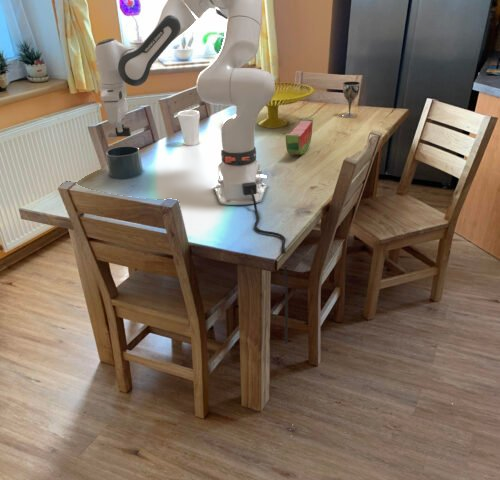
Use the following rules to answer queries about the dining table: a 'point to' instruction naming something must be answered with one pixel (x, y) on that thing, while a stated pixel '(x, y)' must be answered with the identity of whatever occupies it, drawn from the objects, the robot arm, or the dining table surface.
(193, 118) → the foam cup
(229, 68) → the robot arm
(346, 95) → the wine glass
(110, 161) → the blue-grey round hollow container
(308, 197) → the dining table surface
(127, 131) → the two-tone pronged bar
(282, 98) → the cake stand
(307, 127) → the fruit slice
